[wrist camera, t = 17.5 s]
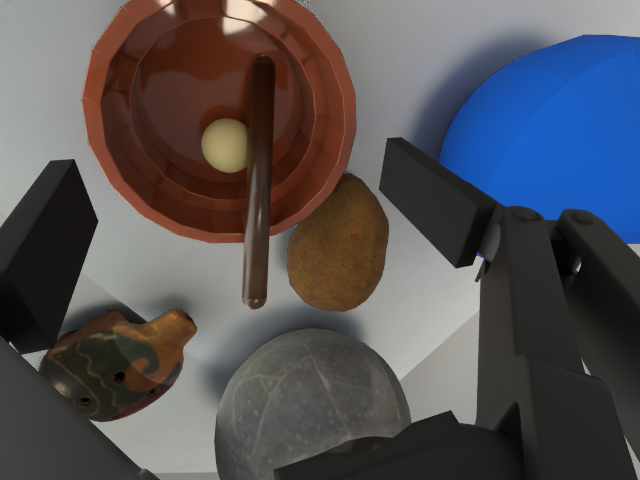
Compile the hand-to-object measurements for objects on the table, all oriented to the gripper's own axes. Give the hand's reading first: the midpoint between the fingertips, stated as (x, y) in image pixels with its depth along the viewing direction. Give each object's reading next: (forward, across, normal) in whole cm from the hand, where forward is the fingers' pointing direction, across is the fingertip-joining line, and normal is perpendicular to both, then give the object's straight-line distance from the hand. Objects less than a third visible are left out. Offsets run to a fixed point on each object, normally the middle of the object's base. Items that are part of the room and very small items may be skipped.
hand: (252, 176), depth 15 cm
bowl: (+12, +5, -30) cm, 33 cm away
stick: (+11, +3, +3) cm, 12 cm away
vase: (+12, +25, -4) cm, 28 cm away
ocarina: (+12, -12, -21) cm, 27 cm away
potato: (+12, +8, -11) cm, 19 cm away
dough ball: (+10, 0, -2) cm, 10 cm away
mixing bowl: (+12, 0, 0) cm, 12 cm away
